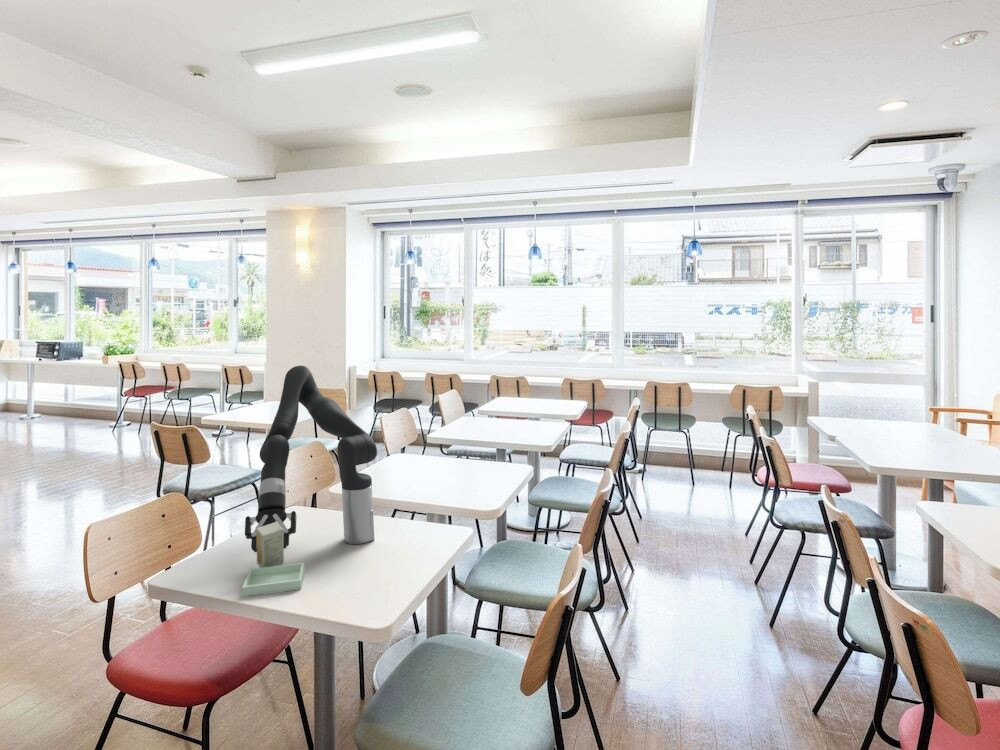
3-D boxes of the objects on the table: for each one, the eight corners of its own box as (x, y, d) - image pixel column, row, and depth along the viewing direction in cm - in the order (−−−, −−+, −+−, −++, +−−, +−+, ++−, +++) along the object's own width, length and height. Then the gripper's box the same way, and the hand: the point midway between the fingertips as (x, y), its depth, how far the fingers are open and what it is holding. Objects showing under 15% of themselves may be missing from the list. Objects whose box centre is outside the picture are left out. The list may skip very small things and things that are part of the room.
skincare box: (277, 555, 165) (278, 520, 161) (284, 564, 163) (285, 528, 158) (255, 563, 161) (255, 527, 157) (261, 572, 158) (261, 535, 154)
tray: (304, 571, 158) (304, 562, 158) (301, 589, 148) (300, 580, 148) (250, 577, 155) (249, 568, 155) (242, 596, 144) (242, 587, 144)
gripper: (298, 499, 175) (298, 551, 165) (248, 505, 171) (244, 558, 161) (296, 488, 169) (295, 540, 159) (244, 493, 166) (240, 547, 156)
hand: (270, 549), depth 160 cm, fingers closed on skincare box, 7 cm apart
